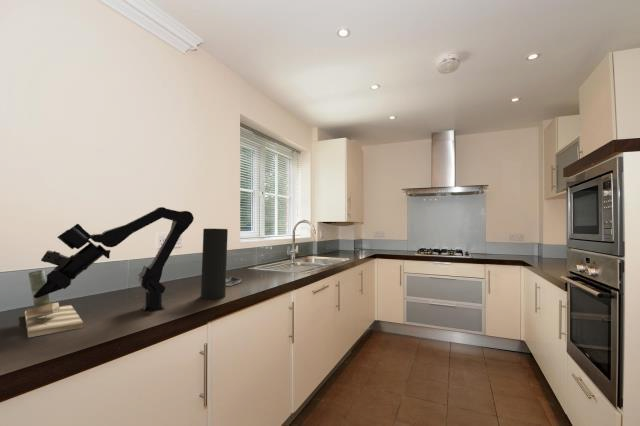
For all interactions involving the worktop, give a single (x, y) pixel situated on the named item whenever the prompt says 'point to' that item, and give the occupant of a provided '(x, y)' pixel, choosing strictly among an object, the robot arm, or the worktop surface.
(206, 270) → the vase
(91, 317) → the worktop surface
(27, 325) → the birch board
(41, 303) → the column on wooden base
